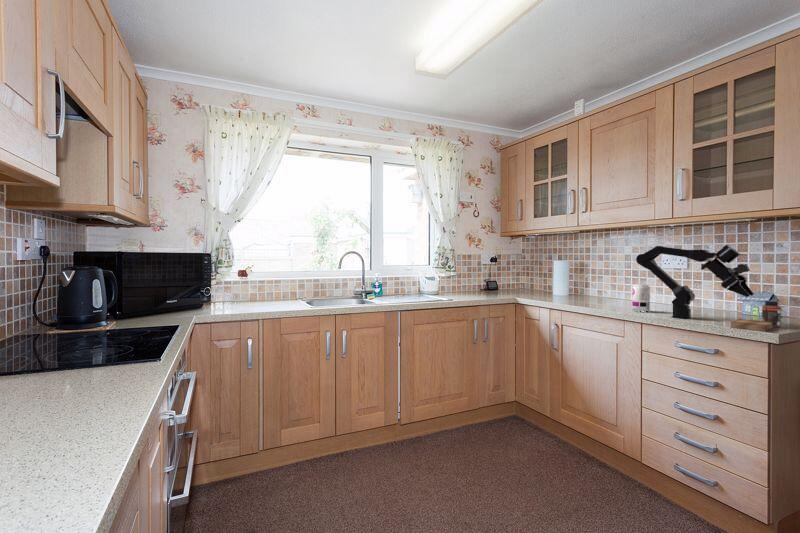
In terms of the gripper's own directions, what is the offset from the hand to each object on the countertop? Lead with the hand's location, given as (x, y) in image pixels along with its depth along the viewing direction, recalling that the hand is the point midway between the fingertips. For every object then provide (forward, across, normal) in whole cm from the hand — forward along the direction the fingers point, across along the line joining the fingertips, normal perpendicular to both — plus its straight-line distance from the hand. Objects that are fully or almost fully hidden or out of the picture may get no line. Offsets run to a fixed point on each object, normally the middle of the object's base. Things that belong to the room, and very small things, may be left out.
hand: (750, 295), depth 177 cm
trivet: (+11, -11, +8) cm, 17 cm away
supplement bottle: (+14, 0, +5) cm, 15 cm away
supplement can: (-24, +9, +43) cm, 50 cm away
